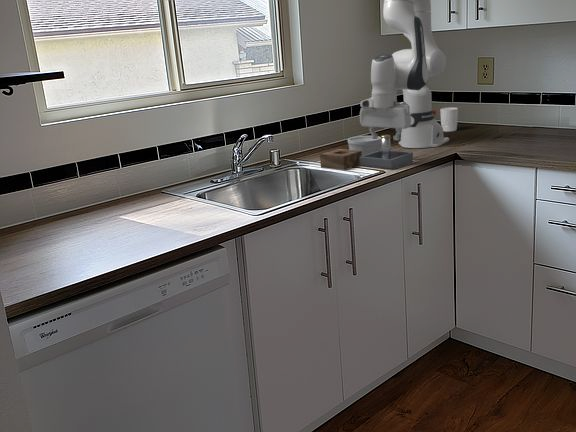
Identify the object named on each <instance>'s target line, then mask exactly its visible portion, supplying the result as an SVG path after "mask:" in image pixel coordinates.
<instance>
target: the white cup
mask: <svg viewBox="0 0 576 432" xmlns="http://www.w3.org/2000/svg"><path fill="white" fill-rule="evenodd" d="M439 112H440V113H439V115H440V125H441V126H442V127H443V132H445V133H446V132H449V133H450V132H455V131H457V129H458V127H457V126H458V119H459V117H458V115H459V109H458V107H442V108H440V109H439Z"/></svg>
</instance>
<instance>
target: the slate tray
mask: <svg viewBox="0 0 576 432" xmlns="http://www.w3.org/2000/svg"><path fill="white" fill-rule="evenodd" d="M413 153H414V152H411V151H401V150H391V159H382V158H381V149H380V150H379V151H376V152H373V153H370V154H367V155H364V156H361V157H359V161H360V165H359V167H363V168H373V169H382V170H395V169H398V168H400V167H403V166H406V165H408V164H411V163H413V162H414V155H413Z"/></svg>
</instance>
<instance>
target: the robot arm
mask: <svg viewBox="0 0 576 432" xmlns="http://www.w3.org/2000/svg"><path fill="white" fill-rule="evenodd" d="M431 5H432V3H431V0H383V9H382V10H383V13H382V15H383V19H384V22H385V24H387V26H389V27H390V28H391V29H393V30H394V31H397V32H400V33H402V34H403V36H404V37H405V38H407V40H409V42H410V45H411V48H404V49H401V50H397V51H394V52H393V53H392V54H380V55H376V56H374V57H373V58H372V61H371V67H370V68H371V69H370V82H371V87H372V89H371V97H369V98H367V99H364V100H361V101H360V103H359V104H360V105H359V106H360V111H359V124H360V125H361V127H363V128H364V127H365V128H366V127H367V128H368V130H369V132H370V134H371V136H372V139H378V137H379V135H378V134H379V133H376V130H375V129H376V128H379V129H380V128H383V129H395V132H396V133H395V135H392V136H393V137H392V138H393V141H394V142H395V141H397V142H398V145H400V147H402V148H406V149H408V148H409V149H421V148H422V149H424V148H437V147H440V146H442V145H444V144H446V143H447V142H449V141H450V137H446V136H444V131H443V127H442V125H441V123H439V122H437V120H436V119H435V116H437V115H438V110H437V109H432V107H433V106H432V104H433V103H432V91H431V89H430V88H429V87H427V86H426V85H427V84H428V81H429V78H431V77H435V76H438V75H441V74H442V73H443V72H444V71H445V68H446V66H447V57H446V55H445V53H444V52H443V51H442V50H441V49H440V48H439V47H438V45H437V43H436V41H435V38H434V36H433V35H434V34H433V31H432V6H431ZM398 90H401V91H402V95H403V96H402V97H403V101H398V99H397V96H398V94H397V91H398Z"/></svg>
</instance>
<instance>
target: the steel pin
mask: <svg viewBox="0 0 576 432" xmlns="http://www.w3.org/2000/svg"><path fill="white" fill-rule="evenodd" d="M380 137H381V145H380V150H381V158H382V159H391V151H392V149H391V148H392V147H391V134H382V135H380Z"/></svg>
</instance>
